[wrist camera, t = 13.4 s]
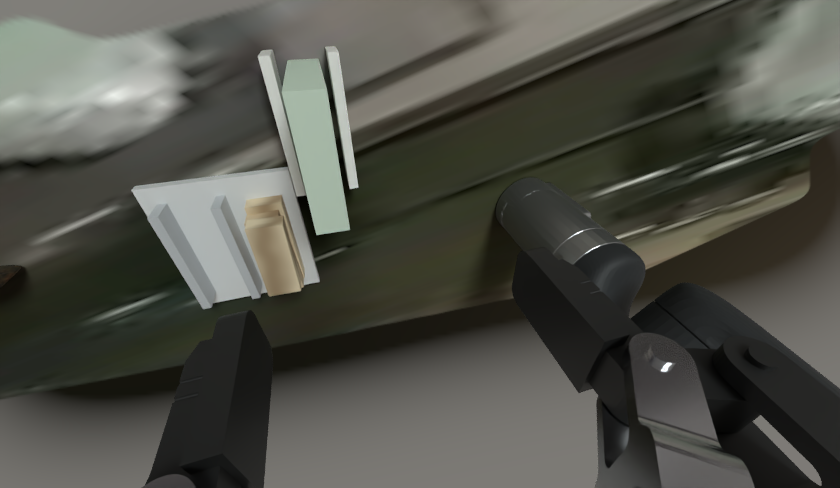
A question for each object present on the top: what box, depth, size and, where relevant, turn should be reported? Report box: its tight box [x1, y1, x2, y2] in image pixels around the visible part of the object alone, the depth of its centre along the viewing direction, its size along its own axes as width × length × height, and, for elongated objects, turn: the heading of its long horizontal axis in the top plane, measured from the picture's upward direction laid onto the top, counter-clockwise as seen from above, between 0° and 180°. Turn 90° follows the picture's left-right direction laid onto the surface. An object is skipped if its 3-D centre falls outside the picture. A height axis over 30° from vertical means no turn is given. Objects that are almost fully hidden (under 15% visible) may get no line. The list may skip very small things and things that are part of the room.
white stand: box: [258, 46, 358, 197], centre depth 36 cm, size 7×14×4 cm, turn 1°
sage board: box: [282, 59, 350, 235], centre depth 32 cm, size 3×12×14 cm, turn 0°
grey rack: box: [131, 167, 320, 309], centre depth 42 cm, size 16×18×4 cm
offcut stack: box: [244, 195, 305, 297], centre depth 41 cm, size 4×12×6 cm, turn 1°
